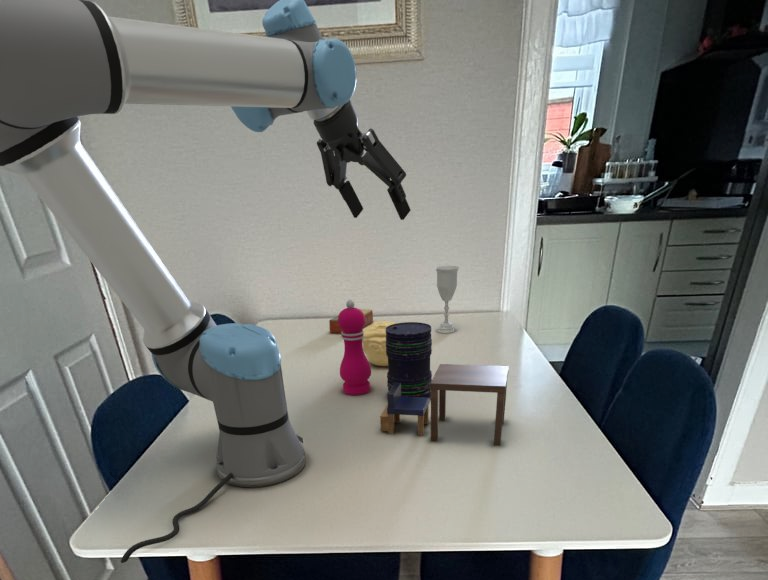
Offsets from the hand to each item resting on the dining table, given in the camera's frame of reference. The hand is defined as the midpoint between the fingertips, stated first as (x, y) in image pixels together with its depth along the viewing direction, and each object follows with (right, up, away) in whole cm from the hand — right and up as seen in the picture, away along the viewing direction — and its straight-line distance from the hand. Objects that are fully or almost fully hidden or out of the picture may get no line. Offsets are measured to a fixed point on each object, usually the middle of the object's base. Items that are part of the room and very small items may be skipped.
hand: (381, 214), depth 112 cm
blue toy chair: (+5, -45, -6) cm, 46 cm away
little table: (+17, -47, -8) cm, 50 cm away
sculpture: (+1, -23, +30) cm, 38 cm away
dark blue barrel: (+6, -36, +9) cm, 38 cm away
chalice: (+20, -6, +54) cm, 58 cm away
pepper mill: (-6, -34, +14) cm, 37 cm away
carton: (-10, -2, +63) cm, 64 cm away
